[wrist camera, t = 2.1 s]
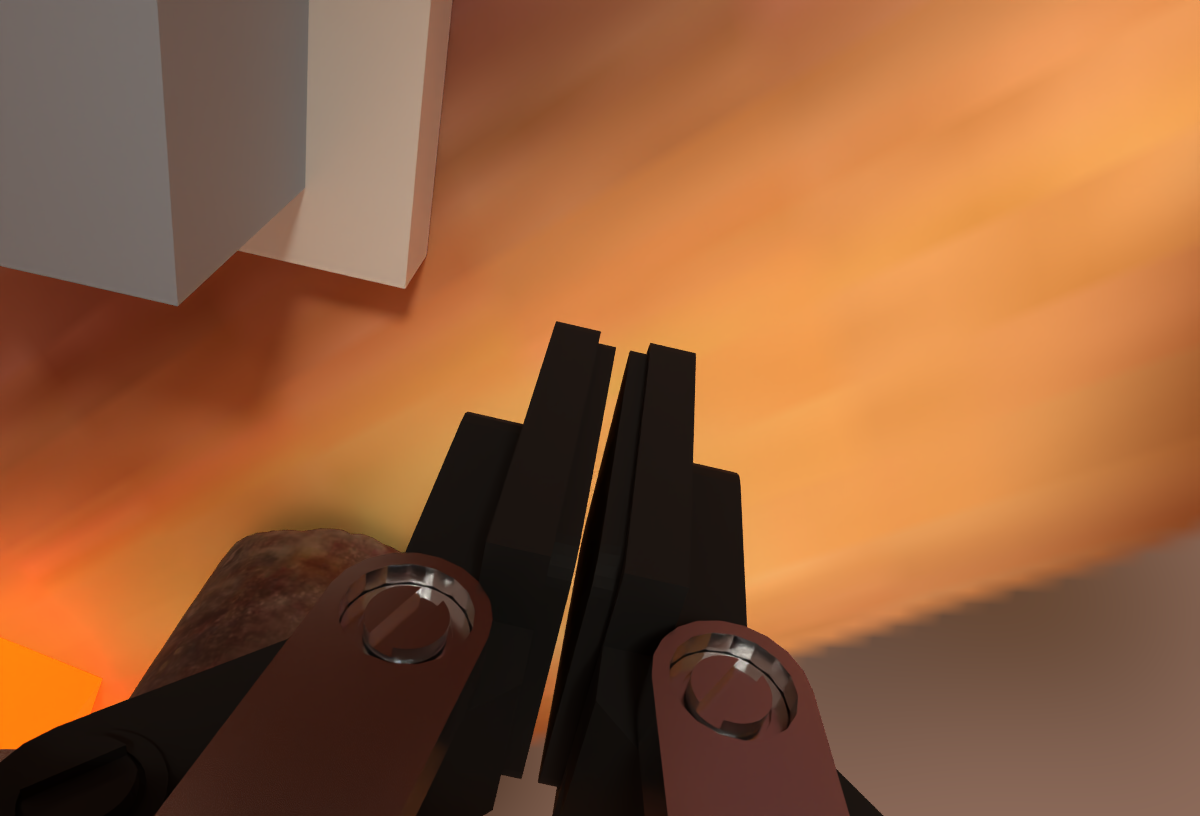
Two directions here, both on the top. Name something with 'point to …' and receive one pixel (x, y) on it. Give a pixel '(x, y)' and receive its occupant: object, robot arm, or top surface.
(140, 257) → the block
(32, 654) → the orange juice
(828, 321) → the top surface
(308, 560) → the brown piece
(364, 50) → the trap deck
